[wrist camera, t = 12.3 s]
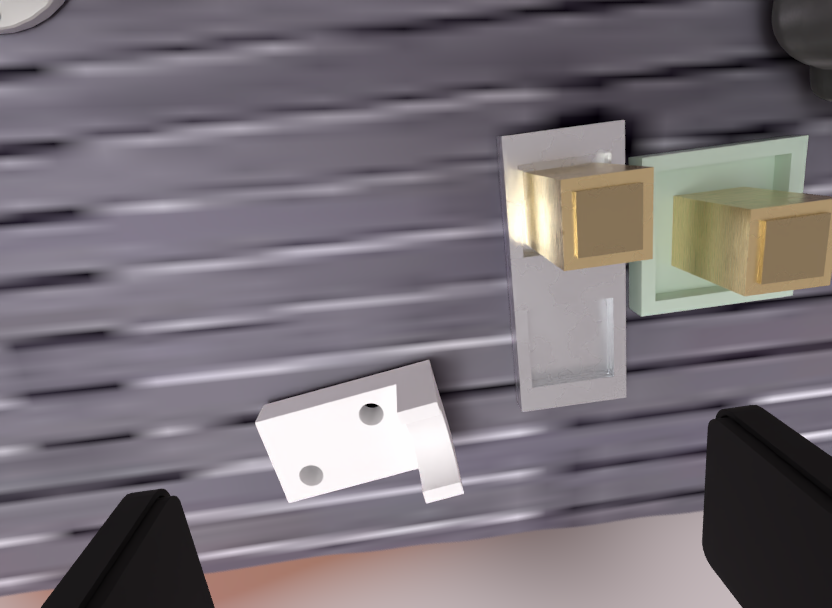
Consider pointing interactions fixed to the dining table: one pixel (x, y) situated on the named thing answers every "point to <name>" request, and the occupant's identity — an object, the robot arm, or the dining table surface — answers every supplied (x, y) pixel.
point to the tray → (700, 172)
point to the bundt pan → (807, 38)
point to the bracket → (362, 435)
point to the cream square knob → (590, 214)
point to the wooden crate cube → (754, 239)
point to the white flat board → (561, 282)
